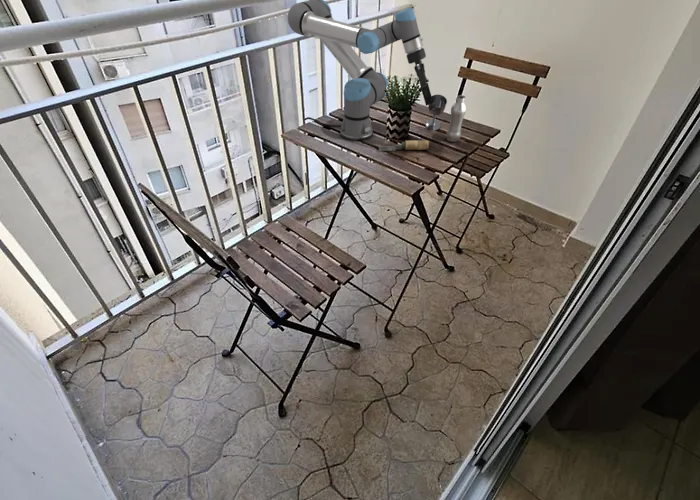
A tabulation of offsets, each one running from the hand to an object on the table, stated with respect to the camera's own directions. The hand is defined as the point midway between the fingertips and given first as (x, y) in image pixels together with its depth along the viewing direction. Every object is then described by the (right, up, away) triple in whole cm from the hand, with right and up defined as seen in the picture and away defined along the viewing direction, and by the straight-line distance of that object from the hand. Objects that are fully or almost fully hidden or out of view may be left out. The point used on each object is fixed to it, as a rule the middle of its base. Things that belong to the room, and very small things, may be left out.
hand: (429, 101), depth 169 cm
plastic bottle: (+13, -14, +9) cm, 21 cm away
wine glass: (+6, -4, +19) cm, 20 cm away
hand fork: (-11, -20, +3) cm, 23 cm away
